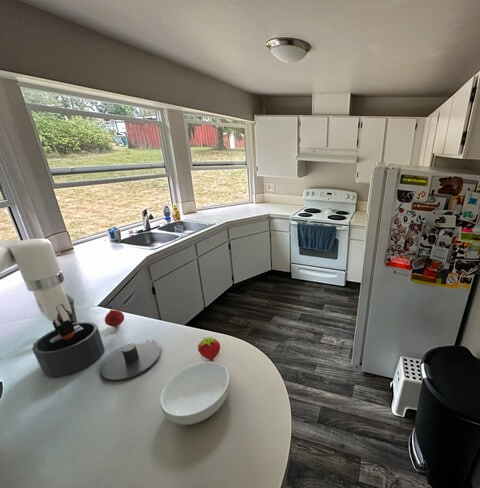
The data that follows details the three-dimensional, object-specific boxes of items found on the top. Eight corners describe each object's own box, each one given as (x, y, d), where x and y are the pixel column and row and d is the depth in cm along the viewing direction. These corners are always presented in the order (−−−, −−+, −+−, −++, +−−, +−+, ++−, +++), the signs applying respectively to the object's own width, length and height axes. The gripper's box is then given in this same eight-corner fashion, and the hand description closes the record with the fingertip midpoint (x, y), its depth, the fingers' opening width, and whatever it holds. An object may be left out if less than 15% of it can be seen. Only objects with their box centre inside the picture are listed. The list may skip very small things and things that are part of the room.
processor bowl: (53, 385, 74) (42, 360, 70) (36, 365, 80) (25, 341, 77) (112, 354, 86) (105, 331, 82) (93, 338, 92) (85, 316, 89)
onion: (124, 319, 103) (120, 303, 100) (127, 326, 99) (122, 309, 96) (106, 326, 99) (101, 308, 96) (108, 333, 95) (102, 315, 92)
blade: (53, 345, 76) (44, 325, 74) (49, 341, 78) (40, 321, 75) (85, 331, 82) (78, 312, 80) (81, 328, 84) (74, 309, 81)
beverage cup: (80, 320, 101) (64, 276, 95) (85, 328, 97) (69, 282, 91) (54, 330, 96) (36, 284, 89) (59, 338, 92) (40, 290, 85)
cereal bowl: (199, 446, 60) (194, 426, 57) (149, 421, 65) (143, 401, 63) (243, 388, 75) (242, 370, 72) (200, 371, 80) (197, 354, 78)
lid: (116, 390, 73) (111, 374, 71) (92, 368, 80) (87, 353, 78) (170, 356, 86) (167, 341, 84) (145, 339, 93) (142, 325, 91)
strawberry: (213, 369, 81) (210, 345, 78) (195, 363, 83) (191, 338, 80) (226, 356, 86) (223, 333, 83) (208, 350, 89) (205, 327, 85)
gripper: (17, 278, 74) (39, 329, 80) (36, 294, 66) (59, 349, 72) (52, 269, 80) (71, 317, 86) (73, 282, 72) (92, 334, 79)
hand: (65, 331), depth 79 cm, fingers closed on blade, 2 cm apart
